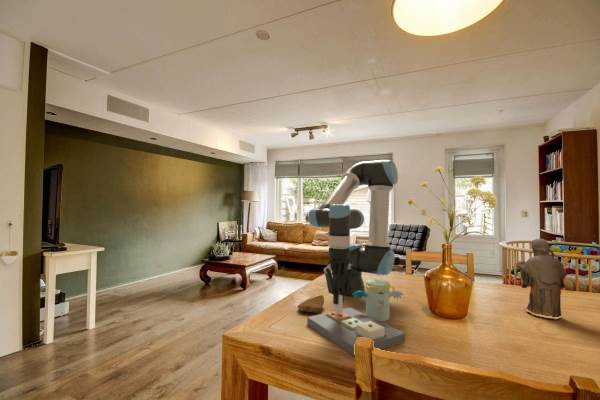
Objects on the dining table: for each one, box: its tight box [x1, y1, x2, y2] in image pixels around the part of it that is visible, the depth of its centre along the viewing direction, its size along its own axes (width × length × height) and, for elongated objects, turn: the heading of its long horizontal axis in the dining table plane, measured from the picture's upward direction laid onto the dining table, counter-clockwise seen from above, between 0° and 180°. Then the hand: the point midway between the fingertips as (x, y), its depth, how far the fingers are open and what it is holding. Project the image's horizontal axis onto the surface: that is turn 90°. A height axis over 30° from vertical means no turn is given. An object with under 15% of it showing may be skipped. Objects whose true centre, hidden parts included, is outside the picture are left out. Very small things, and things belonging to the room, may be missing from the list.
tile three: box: [326, 311, 350, 322], centre depth 104 cm, size 6×6×3 cm
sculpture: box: [517, 238, 568, 317], centre depth 116 cm, size 16×11×30 cm
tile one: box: [357, 321, 385, 340], centre depth 90 cm, size 6×6×3 cm
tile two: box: [341, 318, 363, 331], centre depth 97 cm, size 6×6×3 cm
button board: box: [306, 307, 406, 357], centre depth 97 cm, size 20×26×2 cm
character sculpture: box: [351, 278, 404, 322], centre depth 110 cm, size 20×12×13 cm, turn 92°
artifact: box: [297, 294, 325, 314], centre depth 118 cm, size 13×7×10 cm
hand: (338, 312), depth 104 cm, fingers closed
